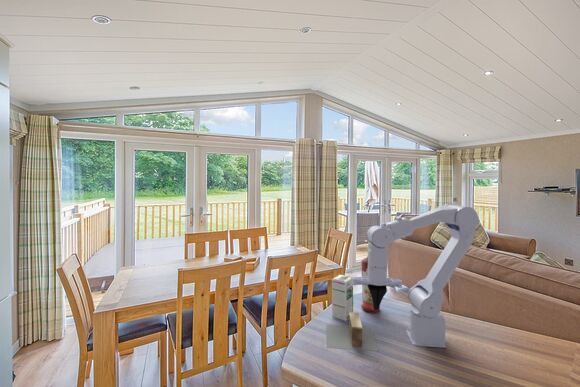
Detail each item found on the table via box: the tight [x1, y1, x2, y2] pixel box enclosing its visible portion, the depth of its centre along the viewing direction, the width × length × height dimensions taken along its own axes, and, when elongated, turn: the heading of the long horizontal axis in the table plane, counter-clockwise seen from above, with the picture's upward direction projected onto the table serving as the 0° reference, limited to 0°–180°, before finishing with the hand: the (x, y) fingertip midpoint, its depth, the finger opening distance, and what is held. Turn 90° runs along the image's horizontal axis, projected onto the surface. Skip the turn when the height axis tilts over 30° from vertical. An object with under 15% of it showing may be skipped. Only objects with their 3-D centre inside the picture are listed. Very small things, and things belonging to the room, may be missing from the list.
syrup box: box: [331, 274, 354, 322], centre depth 104 cm, size 6×6×14 cm
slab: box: [348, 311, 363, 347], centre depth 90 cm, size 3×9×6 cm, turn 173°
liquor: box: [360, 240, 381, 313], centre depth 108 cm, size 7×7×28 cm
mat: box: [325, 324, 379, 352], centre depth 91 cm, size 15×13×1 cm
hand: (376, 308), depth 89 cm, fingers closed
